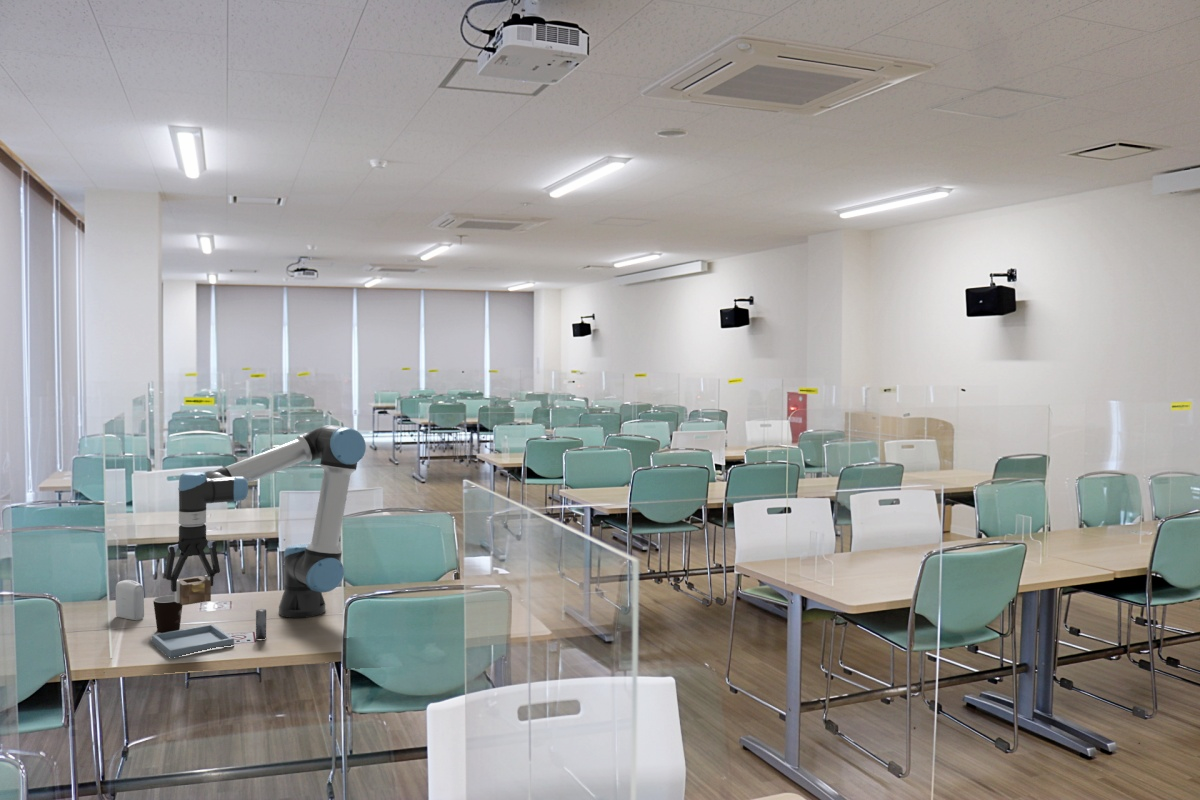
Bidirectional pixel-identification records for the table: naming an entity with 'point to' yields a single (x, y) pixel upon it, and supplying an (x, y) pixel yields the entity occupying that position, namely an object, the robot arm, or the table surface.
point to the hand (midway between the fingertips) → (192, 599)
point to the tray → (191, 640)
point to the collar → (194, 590)
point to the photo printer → (129, 600)
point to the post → (261, 624)
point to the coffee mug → (167, 613)
